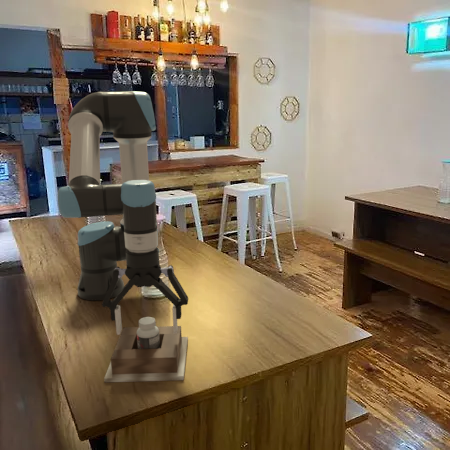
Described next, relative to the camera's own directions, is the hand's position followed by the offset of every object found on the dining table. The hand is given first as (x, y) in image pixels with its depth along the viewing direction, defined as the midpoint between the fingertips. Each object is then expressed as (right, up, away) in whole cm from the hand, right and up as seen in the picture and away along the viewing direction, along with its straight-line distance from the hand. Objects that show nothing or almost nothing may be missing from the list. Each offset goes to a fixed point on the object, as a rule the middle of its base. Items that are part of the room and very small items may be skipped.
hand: (147, 331), depth 110 cm
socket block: (0, -7, +2) cm, 8 cm away
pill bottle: (0, -7, +2) cm, 7 cm away
